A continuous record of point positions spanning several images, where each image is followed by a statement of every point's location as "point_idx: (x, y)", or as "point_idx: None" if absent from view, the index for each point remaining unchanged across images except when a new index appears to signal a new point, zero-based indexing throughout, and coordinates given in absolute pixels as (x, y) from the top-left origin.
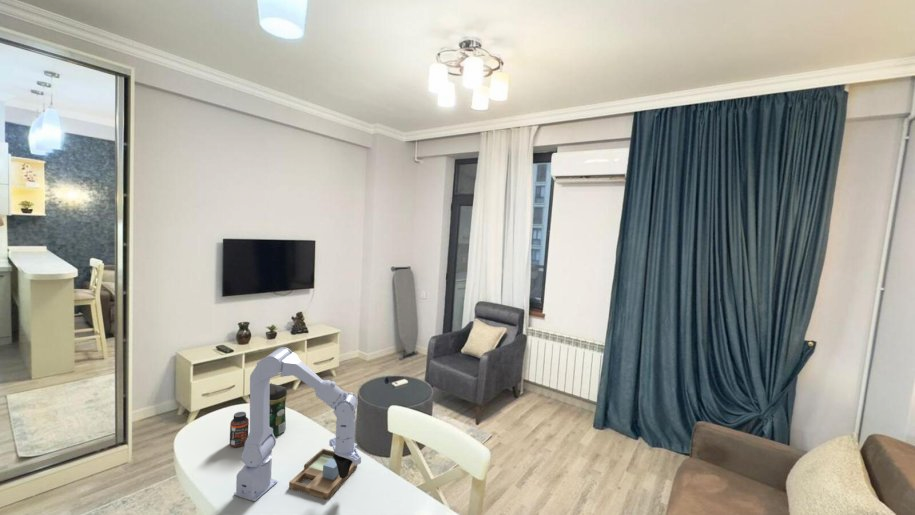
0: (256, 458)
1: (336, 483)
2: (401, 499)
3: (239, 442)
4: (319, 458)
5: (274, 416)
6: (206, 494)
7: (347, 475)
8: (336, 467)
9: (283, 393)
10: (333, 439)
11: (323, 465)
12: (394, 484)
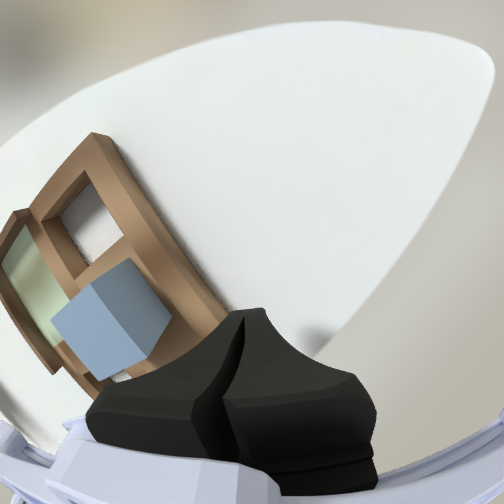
0: None
1: (208, 316)
2: (447, 92)
3: None
4: (18, 290)
5: None
6: None
7: (265, 311)
8: (132, 327)
9: None
10: (3, 482)
11: (100, 380)
12: (352, 44)
